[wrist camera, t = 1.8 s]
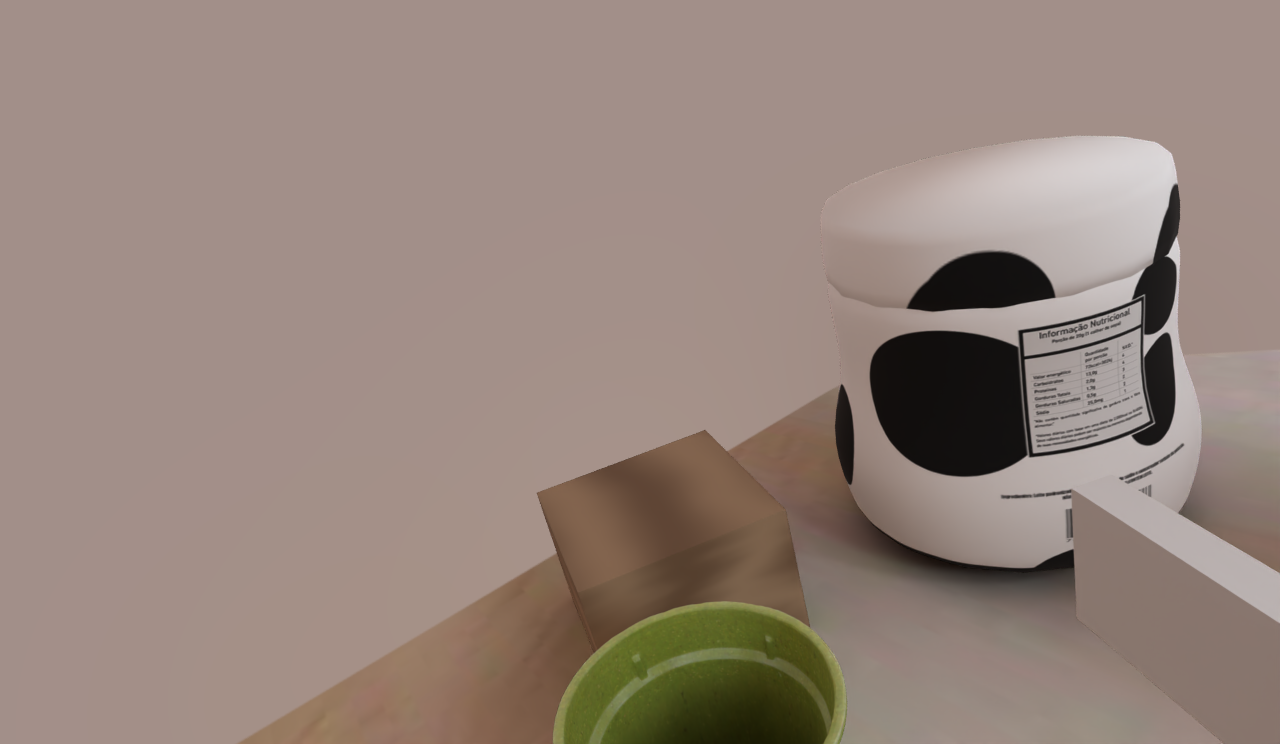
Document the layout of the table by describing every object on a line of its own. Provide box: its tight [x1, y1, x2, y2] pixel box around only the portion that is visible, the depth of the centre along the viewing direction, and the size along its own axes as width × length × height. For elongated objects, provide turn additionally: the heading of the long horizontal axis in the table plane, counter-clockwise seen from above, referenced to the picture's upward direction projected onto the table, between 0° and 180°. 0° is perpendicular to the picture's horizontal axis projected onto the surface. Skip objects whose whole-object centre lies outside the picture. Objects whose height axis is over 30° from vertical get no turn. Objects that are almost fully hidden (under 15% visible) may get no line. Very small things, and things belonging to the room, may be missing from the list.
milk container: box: [821, 136, 1202, 573], centre depth 42 cm, size 17×17×18 cm
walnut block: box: [537, 430, 810, 653], centre depth 42 cm, size 10×10×7 cm
